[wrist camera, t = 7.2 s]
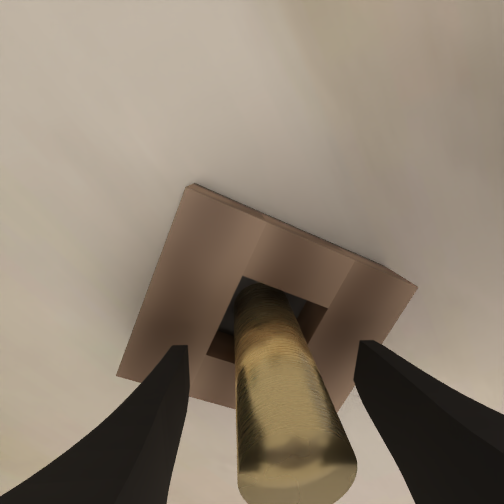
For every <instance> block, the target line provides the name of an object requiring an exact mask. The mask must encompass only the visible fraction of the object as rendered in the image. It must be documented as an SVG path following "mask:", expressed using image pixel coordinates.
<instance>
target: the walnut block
mask: <svg viewBox="0 0 504 504" xmlns="http://www.w3.org/2000/svg"><path fill="white" fill-rule="evenodd" d="M259 282H261V283H263V284H266V285H268V286H271V287H274V288H276V289H279V290H282V291H283V292H284V293H285V294H286V296H287V299H288V301H289V303H290V305H291V308H292V310H293V312H294V315H295V317H296V319H297V322H298V324H299V326H300V329H301V331H302V333H303V336H304V338H305V340H306V343H307V345H308V347H309V349H310V352H311V354H312V356H313V359H314V361H315V363H316V366H317V368H318V370H319V373H320V375H321V377H322V380H323V382H324V384H325V387H326V389H327V391H328V394H329V396H330V398H331V400H332V403H333V405H334V407H335V410H336V412H338V411H339V409H340V407H341V406H342V404H343V403H344V401H345V400H346V398H347V397H348V395H349V394H350V392H351V391H352V389H353V387H354V386H355V383H354V381H353V378H354V372H355V366H356V359H357V353H358V347H359V341H360V340H374V341H376V342H378V343H380V344H382V343H383V341H384V340H385V338H386V337H387V335H388V333H389V332H390V330H391V329H392V327H393V326H394V324H395V323H396V321H397V320H398V318H399V316H400V315H401V313H402V312H403V310H404V309H405V307H406V306H407V304H408V303H409V301H410V299H411V298H412V296H413V295H414V293H415V292H416V290H417V289H418V287H417V286H415V285H414V284H412V283H411V282H409V281H407V280H406V279H404V278H403V277H401V276H400V275H398V274H396V273H395V272H393V271H392V270H390V269H388V268H387V267H385V266H383V265H381V264H378V263H376V262H374V261H372V260H369V259H367V258H365V257H362V256H360V255H358V254H356V253H353V252H351V251H349V250H346V249H344V248H342V247H340V246H337V245H335V244H333V243H330V242H328V241H326V240H324V239H321V238H319V237H317V236H314V235H312V234H310V233H307V232H305V231H303V230H301V229H298V228H296V227H294V226H291V225H289V224H287V223H285V222H282V221H280V220H278V219H275V218H273V217H271V216H269V215H266V214H264V213H262V212H259V211H257V210H255V209H253V208H250V207H248V206H246V205H243V204H241V203H239V202H237V201H234V200H232V199H230V198H227V197H225V196H223V195H221V194H218V193H216V192H214V191H211V190H209V189H207V188H205V187H202V186H200V185H198V184H195V183H194V184H192V185H189V186H187V187H186V188H185V190H184V193H183V196H182V198H181V201H180V204H179V207H178V209H177V212H176V215H175V217H174V220H173V223H172V225H171V228H170V231H169V234H168V236H167V239H166V242H165V244H164V247H163V250H162V252H161V255H160V258H159V261H158V263H157V266H156V269H155V271H154V274H153V277H152V280H151V282H150V285H149V288H148V290H147V293H146V296H145V298H144V301H143V304H142V307H141V309H140V312H139V315H138V317H137V320H136V323H135V325H134V328H133V331H132V334H131V336H130V339H129V342H128V344H127V347H126V350H125V353H124V355H123V358H122V361H121V363H120V366H119V369H118V371H117V374H116V376H118V377H122V378H125V379H129V380H132V381H136V382H140V383H142V382H143V381H144V379H145V378H146V377H147V376H148V375H149V374H150V372H151V371H152V370H153V369H154V368H155V366H156V365H157V364H158V363H159V361H160V360H161V359H162V358H163V356H164V355H165V354H166V352H167V351H168V350H169V348H170V347H171V346H172V345H188V355H189V374H190V391H189V396H190V397H193V398H197V399H201V400H204V401H208V402H211V403H215V404H218V405H222V406H226V407H229V408H233V409H236V389H235V345H234V302H235V299H236V297H237V296H238V294H239V293H240V292H241V291H242V290H243V289H244V288H245V287H247V286H249V285H251V284H254V283H259Z"/></svg>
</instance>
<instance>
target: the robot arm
mask: <svg viewBox="0 0 504 504" xmlns="http://www.w3.org/2000/svg"><path fill="white" fill-rule="evenodd" d="M353 381H354V383H355V386H356V388H357V391H358V393H359V396H360V398H361V400H362V403H363V405H364V407H365V408H366V410H367V412H368V414H369V416H370V417H371V419H372V421H373V423H374V425H375V426H376V428H377V430H378V432H379V433H380V435H381V437H382V439H383V441H384V442H385V444H386V446H387V448H388V449H389V451H390V453H391V455H392V456H393V458H394V460H395V462H396V464H397V466H398V468H399V470H400V471H401V473H402V475H403V477H404V480H405V482H406V484H407V486H408V488H409V491H410V493H411V495H412V497H413V499H414V501H415V504H504V415H503V414H501V413H499V412H497V411H495V410H493V409H491V408H488V407H486V406H485V405H483V404H481V403H479V402H477V401H475V400H473V399H471V398H469V397H467V396H465V395H463V394H461V393H460V392H458V391H456V390H454V389H452V388H451V387H449V386H447V385H445V384H444V383H442V382H440V381H439V380H437V379H435V378H433V377H432V376H430V375H429V374H427V373H425V372H424V371H422V370H421V369H419V368H417V367H416V366H414V365H413V364H411V363H410V362H408V361H406V360H405V359H403V358H402V357H400V356H399V355H397V354H396V353H394V352H393V351H391V350H389V349H388V348H386V347H385V346H383V345H381V344H380V343H378V342H376V341H374V340H360V341H359V347H358V353H357V359H356V366H355V372H354V378H353ZM189 391H190V374H189V355H188V345H172V346H171V347H170V348H169V350H168V351H167V352H166V354H165V355H164V356H163V358H162V359H161V360H160V361H159V363H158V364H157V365H156V366H155V368H154V369H153V370H152V371H151V372H150V374H149V375H148V376H147V377H146V378H145V379H144V381H143V382H142V383H141V384H140V385H139V386H138V387H137V388H136V389H135V390H134V391H133V392H132V394H131V395H130V396H129V397H128V398H127V399H126V400H125V401H124V402H123V403H122V404H121V405H120V406H119V407H118V408H117V409H116V410H115V411H114V412H113V413H112V414H111V415H109V416H108V417H107V418H106V419H105V420H104V421H103V422H102V423H101V424H99V425H98V426H97V427H96V428H95V429H94V430H92V431H91V432H90V433H89V434H88V435H86V436H85V437H84V438H83V439H81V440H80V441H79V442H78V443H76V444H75V445H74V446H73V447H71V448H70V449H69V450H68V451H66V452H65V453H64V454H62V455H61V456H59V457H58V458H57V459H55V460H54V461H53V462H51V463H50V464H48V465H47V466H46V467H44V468H43V469H41V470H40V471H38V472H37V473H36V474H34V475H33V476H31V477H30V478H28V479H27V480H25V481H24V482H22V483H21V484H19V485H18V486H16V487H15V488H13V489H11V490H10V491H8V492H7V493H5V494H3V495H2V496H0V504H166V503H167V496H168V490H169V485H170V480H171V476H172V471H173V467H174V463H175V459H176V455H177V451H178V447H179V442H180V438H181V434H182V430H183V426H184V422H185V417H186V413H187V406H188V399H189Z"/></svg>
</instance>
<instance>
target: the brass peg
mask: <svg viewBox="0 0 504 504" xmlns="http://www.w3.org/2000/svg"><path fill="white" fill-rule="evenodd" d="M234 345H235V389H236V432H237V476H238V488H239V491H240V493H241V495H242V497H243V498H244V500H245V501H246V502H247V503H248V504H333V503H334V502H336V501H337V500H339V499H340V498H341V497H342V496H343V495H344V494H345V493H346V492H347V491H348V490H349V488H350V487H351V485H352V484H353V482H354V480H355V477H356V473H357V460H356V456H355V454H354V451H353V449H352V447H351V444H350V442H349V440H348V438H347V435H346V433H345V431H344V428H343V426H342V424H341V421H340V419H339V417H338V414H337V412H336V410H335V407H334V405H333V403H332V400H331V398H330V396H329V394H328V391H327V389H326V387H325V384H324V382H323V380H322V377H321V375H320V373H319V370H318V368H317V366H316V363H315V361H314V359H313V356H312V354H311V352H310V349H309V347H308V345H307V343H306V340H305V338H304V336H303V333H302V331H301V329H300V326H299V324H298V322H297V319H296V317H295V315H294V312H293V310H292V308H291V305H290V303H289V301H288V299H287V296H286V294H285V293H284V292H283V291H282V290H279V289H276V288H274V287H271V286H268V285H266V284H263V283H261V282H259V283H254V284H251V285H249V286H247V287H245V288H244V289H243V290H242V291H241V292H240V293H239V294H238V296H237V297H236V299H235V302H234Z"/></svg>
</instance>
